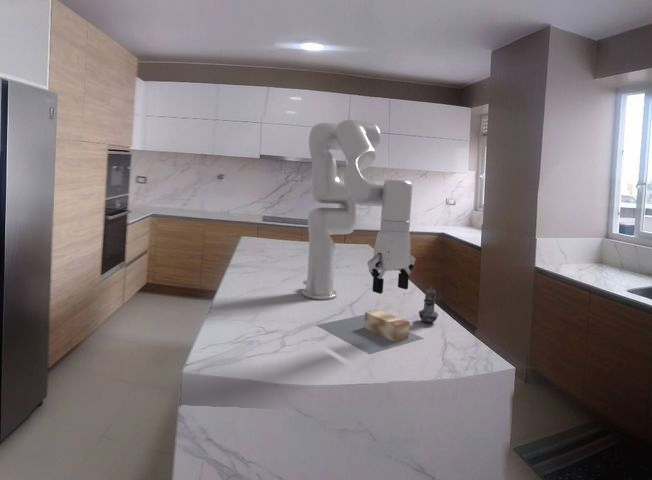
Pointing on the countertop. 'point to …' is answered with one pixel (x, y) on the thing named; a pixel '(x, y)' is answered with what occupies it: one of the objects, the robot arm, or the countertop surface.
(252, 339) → the countertop surface
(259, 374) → the countertop surface
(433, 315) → the grey chess piece
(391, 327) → the beige brown block
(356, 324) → the slate mat
